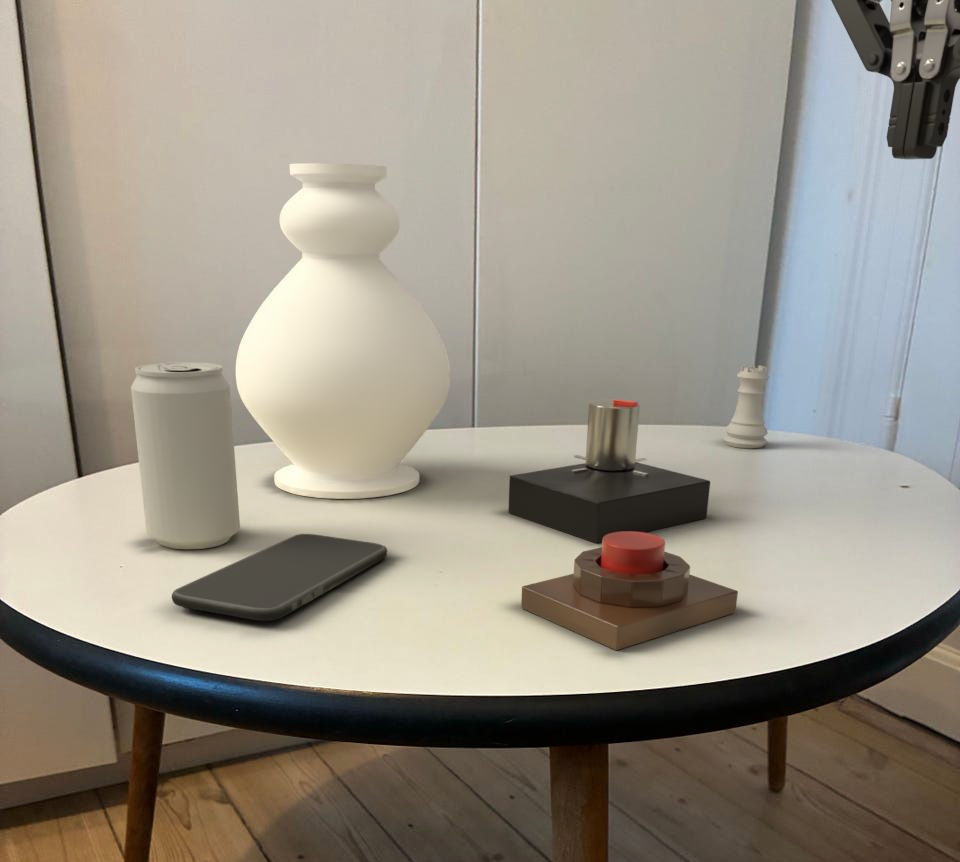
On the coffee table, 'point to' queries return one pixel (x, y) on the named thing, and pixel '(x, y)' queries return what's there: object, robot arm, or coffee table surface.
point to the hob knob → (612, 434)
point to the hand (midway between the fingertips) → (912, 158)
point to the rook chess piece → (748, 410)
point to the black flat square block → (608, 499)
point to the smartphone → (280, 577)
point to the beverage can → (186, 453)
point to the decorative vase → (342, 345)
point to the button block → (627, 601)
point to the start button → (632, 552)
